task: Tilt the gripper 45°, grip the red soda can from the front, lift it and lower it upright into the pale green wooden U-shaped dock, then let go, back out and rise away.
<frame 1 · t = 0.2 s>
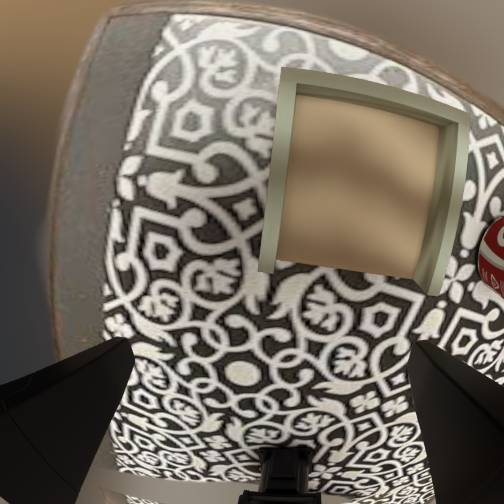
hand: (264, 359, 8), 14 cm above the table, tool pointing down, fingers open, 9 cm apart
soda can: (498, 250, 19), on the table
dock: (362, 182, 20), on the table
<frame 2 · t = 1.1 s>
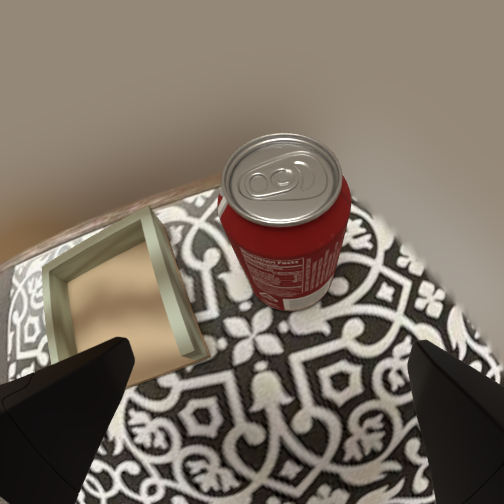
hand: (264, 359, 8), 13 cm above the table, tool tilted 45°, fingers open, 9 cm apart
soda can: (290, 273, 24), on the table
dock: (121, 314, 24), on the table
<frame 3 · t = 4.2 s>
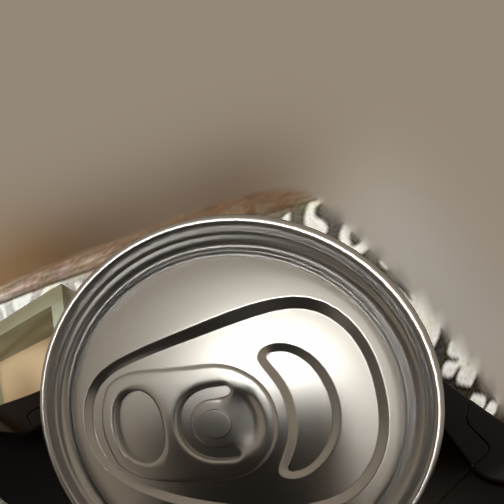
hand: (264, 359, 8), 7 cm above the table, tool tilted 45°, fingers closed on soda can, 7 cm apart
soda can: (277, 398, 13), on the table, touching gripper
dock: (54, 419, 14), on the table
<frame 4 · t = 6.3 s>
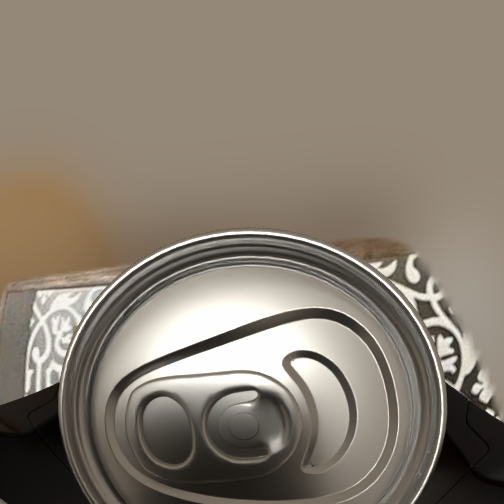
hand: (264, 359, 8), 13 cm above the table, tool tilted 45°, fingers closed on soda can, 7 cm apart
soda can: (266, 396, 14), point 6 cm above the table, touching gripper
when the fingers open (9 cm above the table, at t = 8.6 s): soda can stays where it is, resting on dock.
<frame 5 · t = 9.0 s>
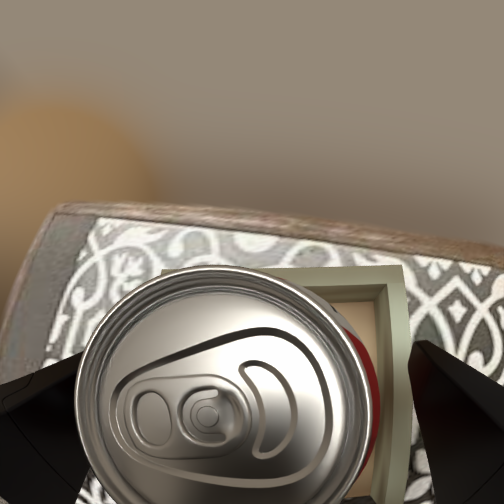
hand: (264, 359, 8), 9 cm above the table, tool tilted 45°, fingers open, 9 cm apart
soda can: (269, 399, 15), point 1 cm above the table, touching dock
dock: (280, 397, 15), on the table
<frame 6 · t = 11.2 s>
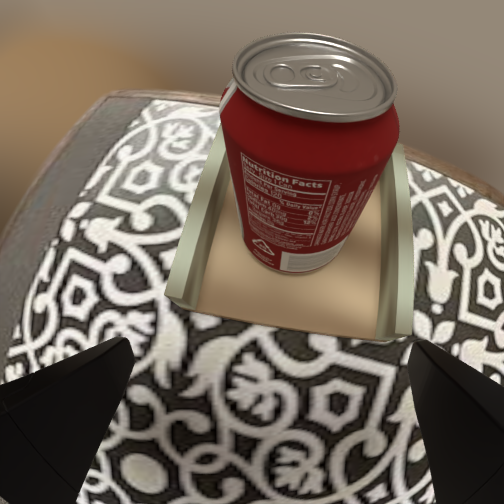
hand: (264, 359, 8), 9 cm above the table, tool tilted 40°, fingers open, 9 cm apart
soda can: (293, 229, 19), point 1 cm above the table, touching dock
dock: (300, 233, 20), on the table
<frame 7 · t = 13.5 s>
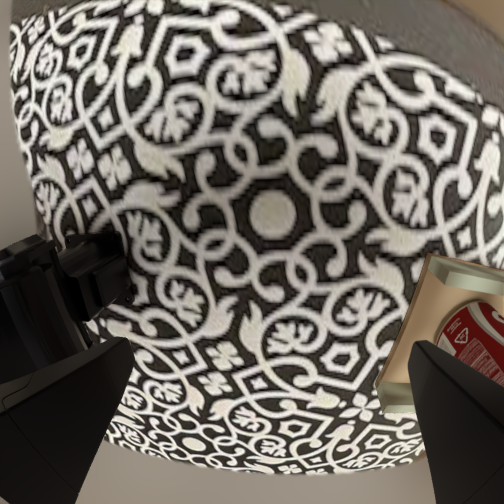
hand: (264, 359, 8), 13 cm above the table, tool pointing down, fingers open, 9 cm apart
soda can: (463, 330, 20), point 1 cm above the table, touching dock
dock: (458, 332, 21), on the table
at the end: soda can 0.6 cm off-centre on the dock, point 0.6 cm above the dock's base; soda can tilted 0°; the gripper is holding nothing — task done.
